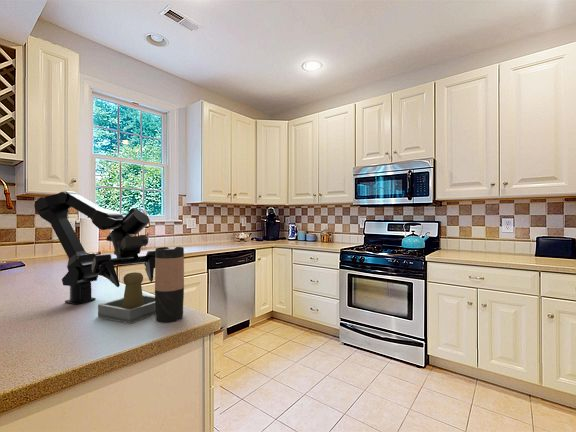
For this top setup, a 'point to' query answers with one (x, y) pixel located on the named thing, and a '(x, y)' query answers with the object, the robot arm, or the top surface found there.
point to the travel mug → (169, 284)
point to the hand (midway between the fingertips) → (135, 283)
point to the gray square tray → (127, 310)
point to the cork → (133, 291)
